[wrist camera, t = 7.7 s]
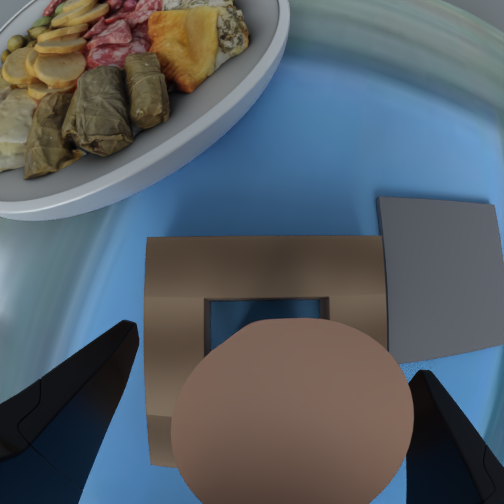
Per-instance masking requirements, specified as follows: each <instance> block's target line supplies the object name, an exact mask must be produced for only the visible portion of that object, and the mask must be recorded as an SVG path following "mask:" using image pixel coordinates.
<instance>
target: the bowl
mask: <svg viewBox="0 0 504 504" xmlns="http://www.w3.org/2000/svg"><path fill="white" fill-rule="evenodd" d="M289 25H290V6H289V2H288V0H32V1H31V2H29V3H28V4H27V5H25V6H24V7H23V8H22V9H21V10H20V11H19V12H17V13H16V14H15V15H14V16H13V17H12V18H11V19H10V20H9V21H8V22H7V23H6V24H5V25H4V26H3V27H2V28H1V29H0V217H4V218H9V219H14V220H25V221H43V220H53V219H60V218H66V217H71V216H75V215H79V214H83V213H87V212H90V211H93V210H97V209H100V208H103V207H105V206H108V205H111V204H113V203H116V202H118V201H121V200H123V199H125V198H128V197H130V196H132V195H134V194H136V193H138V192H140V191H142V190H144V189H146V188H148V187H150V186H152V185H153V184H155V183H157V182H159V181H161V180H162V179H164V178H166V177H167V176H169V175H171V174H172V173H174V172H176V171H177V170H179V169H180V168H182V167H183V166H185V165H186V164H188V163H189V162H191V161H192V160H193V159H195V158H196V157H197V156H199V155H200V154H202V153H203V152H204V151H205V150H207V149H208V148H209V147H210V146H212V145H213V144H214V143H215V142H217V141H218V140H219V139H220V138H221V137H222V136H223V135H225V134H226V133H227V132H228V131H229V130H230V129H231V128H232V127H233V126H234V125H235V124H236V123H237V122H238V121H239V120H240V119H241V118H242V117H243V116H244V115H245V114H246V113H247V111H248V110H249V109H250V108H251V107H252V106H253V104H254V103H255V102H256V101H257V99H258V98H259V97H260V95H261V94H262V92H263V91H264V90H265V88H266V87H267V85H268V84H269V82H270V80H271V79H272V77H273V75H274V73H275V71H276V69H277V67H278V65H279V63H280V61H281V58H282V56H283V53H284V50H285V47H286V43H287V39H288V33H289Z"/></svg>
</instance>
